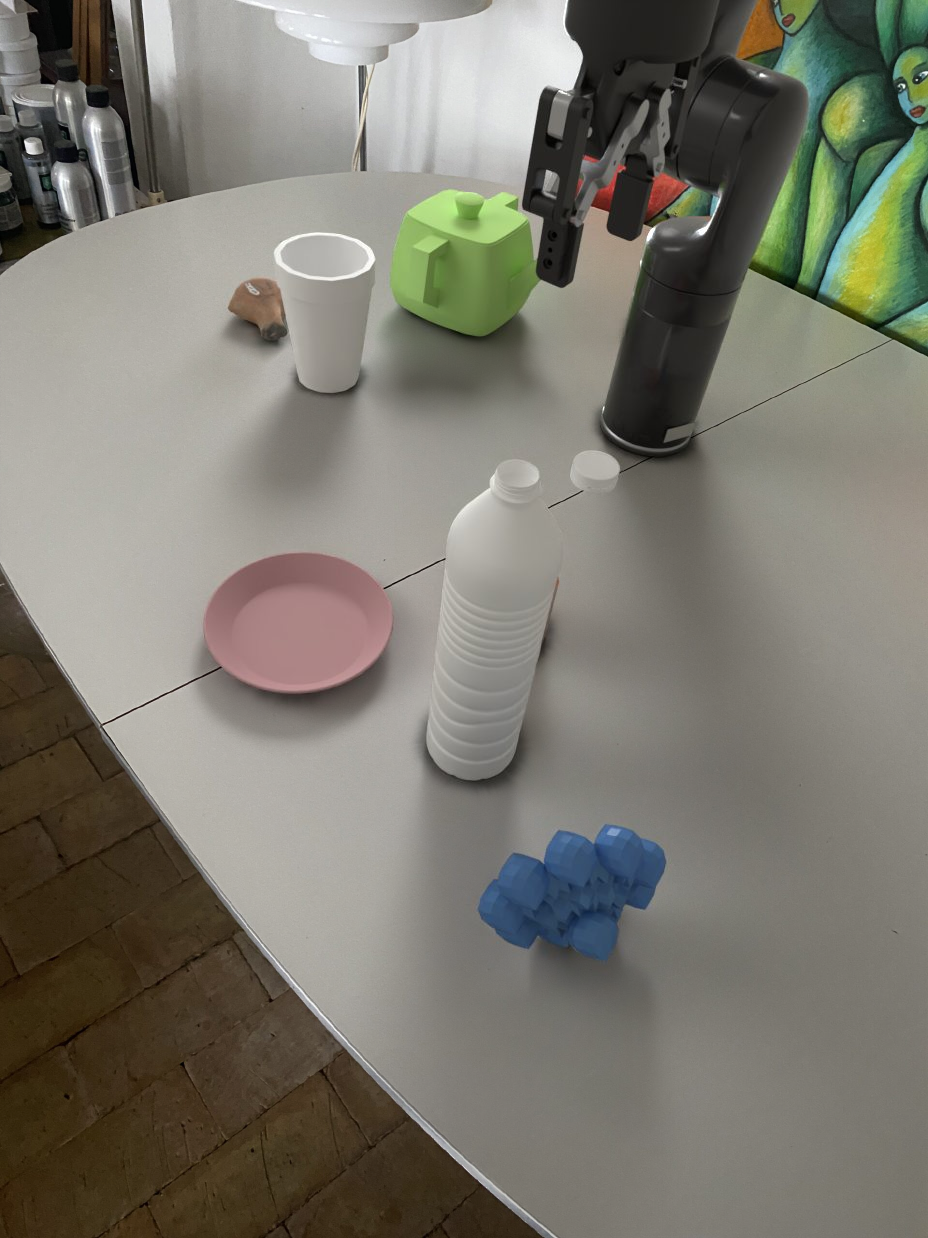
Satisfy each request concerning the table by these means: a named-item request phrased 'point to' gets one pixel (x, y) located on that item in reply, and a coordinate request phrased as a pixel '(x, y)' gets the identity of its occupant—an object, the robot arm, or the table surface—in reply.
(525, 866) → the grapes
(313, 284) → the foam cup
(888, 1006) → the table surface
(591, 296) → the table surface
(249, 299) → the oil lamp
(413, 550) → the table surface
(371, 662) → the plate
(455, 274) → the teapot
